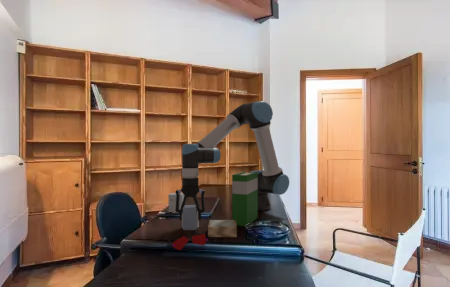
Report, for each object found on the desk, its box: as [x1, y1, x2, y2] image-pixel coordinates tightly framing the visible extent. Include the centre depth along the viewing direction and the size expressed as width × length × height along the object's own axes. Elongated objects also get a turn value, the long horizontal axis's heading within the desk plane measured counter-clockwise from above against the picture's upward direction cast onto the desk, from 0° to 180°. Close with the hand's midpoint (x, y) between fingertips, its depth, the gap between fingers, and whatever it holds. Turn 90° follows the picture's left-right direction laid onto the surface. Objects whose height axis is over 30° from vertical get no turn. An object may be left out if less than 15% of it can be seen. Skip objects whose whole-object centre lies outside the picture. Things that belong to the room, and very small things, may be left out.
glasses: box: [160, 230, 209, 251], centre depth 117 cm, size 14×16×5 cm
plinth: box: [207, 219, 238, 238], centre depth 129 cm, size 12×12×4 cm
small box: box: [167, 192, 184, 214], centre depth 168 cm, size 8×6×10 cm
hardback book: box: [231, 171, 258, 227], centre depth 148 cm, size 18×7×24 cm, turn 157°
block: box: [182, 204, 198, 231], centre depth 136 cm, size 6×6×10 cm
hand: (190, 227), depth 136 cm, fingers closed on block, 6 cm apart
